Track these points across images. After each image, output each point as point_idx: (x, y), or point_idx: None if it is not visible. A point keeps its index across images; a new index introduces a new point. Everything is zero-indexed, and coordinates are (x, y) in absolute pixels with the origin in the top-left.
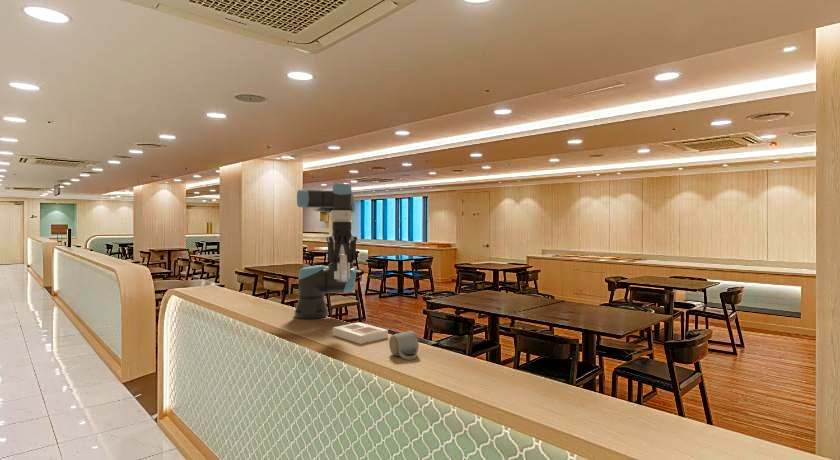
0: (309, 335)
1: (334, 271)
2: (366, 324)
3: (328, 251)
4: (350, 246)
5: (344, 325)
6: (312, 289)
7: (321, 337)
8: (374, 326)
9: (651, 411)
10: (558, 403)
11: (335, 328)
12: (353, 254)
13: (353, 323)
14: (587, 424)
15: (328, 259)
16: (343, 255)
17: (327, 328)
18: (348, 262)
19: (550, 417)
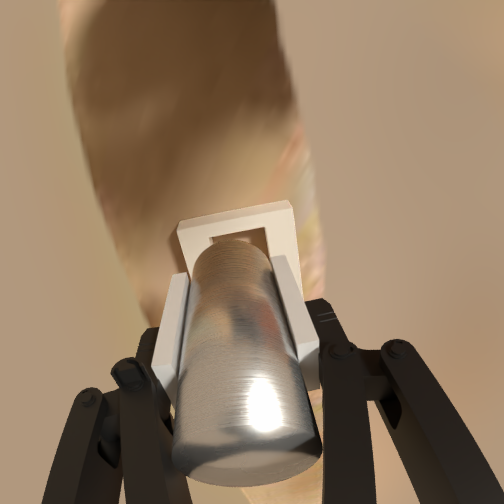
0: (113, 188)
1: (165, 313)
2: (294, 249)
3: (56, 484)
4: (450, 493)
5: (222, 224)
6: None
7: (140, 229)
8: (300, 283)
9: (318, 497)
10: (283, 491)
11: (180, 244)
12: (394, 437)
13: (264, 213)
14: (269, 501)
15: (77, 408)
16: (236, 480)
17: (197, 123)
18: (312, 380)
19: (258, 497)
